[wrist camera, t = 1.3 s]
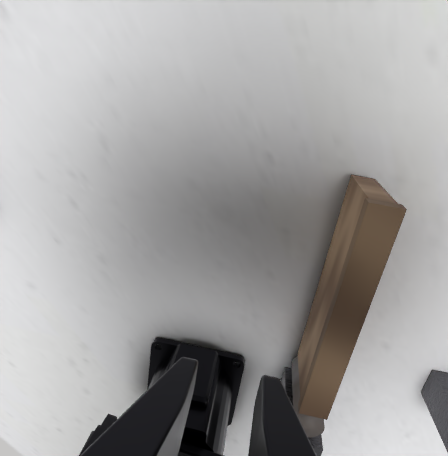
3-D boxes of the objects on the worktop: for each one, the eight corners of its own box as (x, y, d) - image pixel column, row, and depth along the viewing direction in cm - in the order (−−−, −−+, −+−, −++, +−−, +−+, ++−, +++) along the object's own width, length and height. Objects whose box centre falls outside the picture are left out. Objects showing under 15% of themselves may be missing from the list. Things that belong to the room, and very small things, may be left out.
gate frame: (460, 399, 24) (509, 486, 19) (279, 394, 26) (278, 471, 21) (465, 370, 23) (518, 453, 18) (277, 367, 25) (276, 440, 20)
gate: (313, 376, 24) (320, 440, 20) (288, 371, 24) (291, 433, 20) (378, 179, 18) (407, 209, 14) (347, 173, 19) (367, 202, 14)
